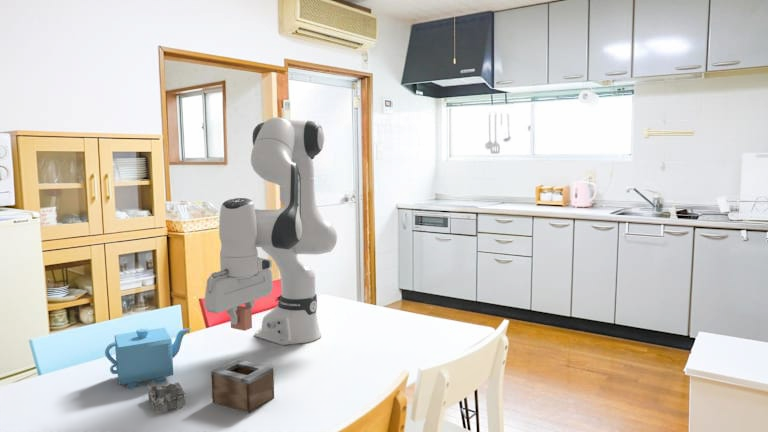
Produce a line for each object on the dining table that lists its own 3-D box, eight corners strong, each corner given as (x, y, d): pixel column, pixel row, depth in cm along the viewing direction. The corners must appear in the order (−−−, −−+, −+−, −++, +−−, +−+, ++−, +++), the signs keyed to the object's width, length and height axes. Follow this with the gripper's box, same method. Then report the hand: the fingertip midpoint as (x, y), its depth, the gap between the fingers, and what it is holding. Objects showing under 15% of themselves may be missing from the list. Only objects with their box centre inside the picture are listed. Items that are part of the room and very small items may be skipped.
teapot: (108, 393, 142) (105, 341, 140) (105, 378, 151) (102, 329, 149) (197, 376, 152) (195, 328, 151) (189, 363, 162) (187, 317, 160)
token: (230, 327, 135) (230, 308, 135) (238, 325, 138) (237, 305, 137) (245, 330, 133) (244, 310, 133) (252, 327, 136) (251, 308, 135)
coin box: (212, 402, 137) (211, 371, 136) (237, 388, 145) (236, 359, 144) (249, 412, 131) (248, 380, 130) (274, 397, 139) (273, 367, 138)
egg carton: (146, 399, 139) (145, 383, 139) (177, 392, 143) (176, 377, 143) (155, 415, 130) (154, 399, 130) (188, 407, 134) (187, 391, 134)
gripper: (217, 275, 123) (219, 335, 125) (276, 259, 141) (277, 312, 143) (197, 272, 126) (199, 331, 128) (256, 257, 144) (258, 309, 146)
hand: (241, 321), depth 135 cm, fingers closed on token, 2 cm apart
